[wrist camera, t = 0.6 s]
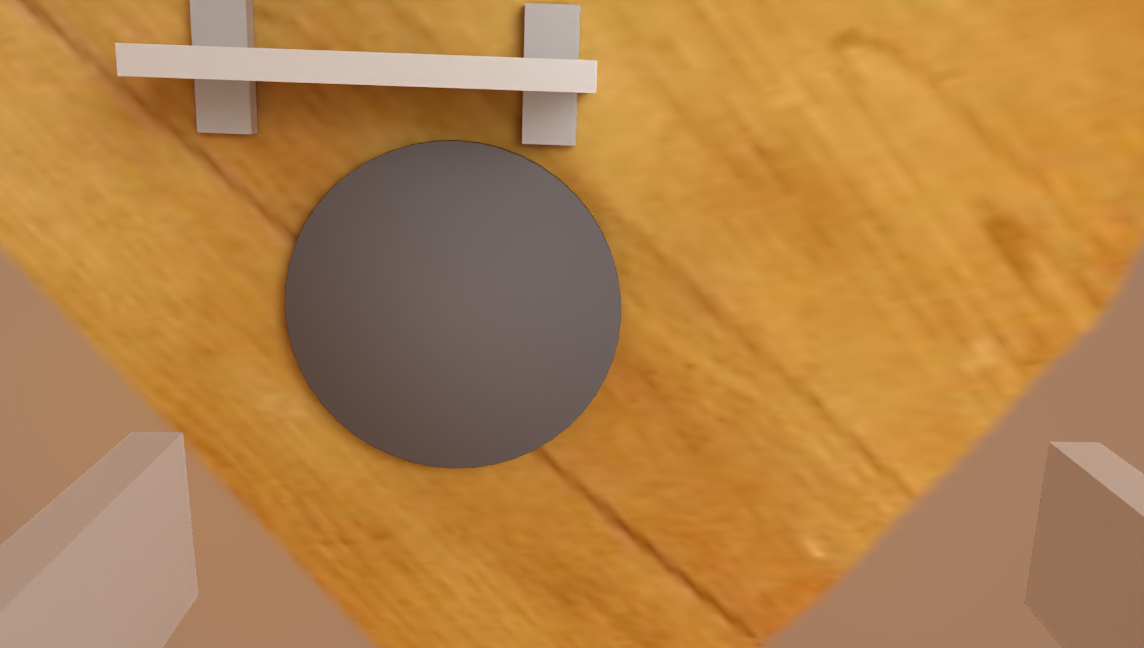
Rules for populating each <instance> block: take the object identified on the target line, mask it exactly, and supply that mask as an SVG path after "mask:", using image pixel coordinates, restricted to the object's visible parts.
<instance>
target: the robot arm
mask: <svg viewBox="0 0 1144 648" xmlns="http://www.w3.org/2000/svg"><path fill="white" fill-rule="evenodd" d="M197 597H198V587H197V575H196V565H195V554H194V544H193V533H192V522H191V512H190V502H189V492H188V480H187V469H186V459H185V448H184V438H183V432H131V433H130V434H128V435H127V436H126V437H125V438H124V439H123V440H121V441H120V442H119V443H118V444H117V445H116V446H115V447H113V448H112V449H111V450H110V451H109V452H108V453H107V454H106V455H104V456H103V457H102V458H101V459H100V460H99V461H97V462H96V463H95V464H94V465H93V466H91V467H90V468H89V469H88V470H87V471H86V472H85V473H83V474H82V475H81V476H80V477H79V478H78V479H76V480H75V481H74V482H73V483H72V484H71V485H70V486H68V487H67V488H66V489H65V490H64V491H63V492H62V493H60V494H59V495H58V496H57V497H56V498H55V499H53V500H52V501H51V502H50V503H49V504H48V505H46V506H45V507H44V508H43V509H42V510H41V511H39V512H38V513H37V514H36V515H35V516H34V517H33V518H32V519H30V520H29V521H28V522H27V523H26V524H25V525H23V526H22V527H21V528H20V529H19V530H18V531H16V533H14V534H13V535H12V536H11V537H9V538H8V539H7V540H6V541H5V542H4V543H3V544H1V545H0V648H163V647H164V645H165V644H166V642H167V641H168V640H169V638H170V636H171V635H172V634H173V632H174V631H175V629H176V628H177V626H178V625H179V623H180V622H181V620H182V619H183V617H184V616H185V614H186V613H187V612H188V610H189V609H190V607H191V605H192V604H193V603H194V601H195V600H196V598H197ZM1025 604H1026V605H1027V607H1028V608H1029V609H1030V610H1031V611H1032V613H1033V614H1034V615H1035V616H1036V617H1037V618H1038V620H1039V621H1040V622H1041V623H1042V624H1043V626H1044V627H1045V628H1046V629H1047V630H1048V631H1049V633H1050V634H1051V635H1052V636H1053V637H1054V638H1055V640H1056V641H1057V642H1058V643H1059V645H1060V646H1062V648H1144V474H1142V473H1141V472H1140V471H1138V470H1137V469H1135V468H1134V467H1133V466H1131V465H1130V464H1128V463H1127V462H1126V461H1124V460H1123V459H1122V458H1120V457H1119V456H1117V455H1116V454H1114V453H1113V452H1112V451H1110V450H1109V449H1107V448H1106V447H1105V446H1103V445H1102V444H1101V443H1098V442H1049V447H1048V453H1047V460H1046V466H1045V472H1044V479H1043V485H1042V492H1041V499H1040V505H1039V512H1038V518H1037V526H1036V531H1035V538H1034V545H1033V551H1032V557H1031V564H1030V570H1029V577H1028V583H1027V590H1026V596H1025Z"/></svg>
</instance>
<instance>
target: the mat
mask: <svg viewBox="0 0 1144 648" xmlns="http://www.w3.org/2000/svg"><path fill="white" fill-rule="evenodd" d="M285 311H286V321H287V329H288V333H289V337H290V341H291V345H292V349H293V352H294V354H295V357H296V360H297V362H298V365H299V367H300V370H301V371H302V373H303V375H304V377H305V379H306V381H307V382H308V384H309V386H310V388H311V389H312V391H313V392H314V393H315V395H316V396H317V398H318V399H319V400H320V402H321V403H322V404H323V406H324V407H325V408H326V409H327V410H328V411H329V412H330V413H331V414H332V415H333V416H334V417H335V419H336V420H337V421H339V422H340V423H341V424H342V425H343V426H345V427H346V428H347V429H348V430H349V431H351V432H352V433H353V434H354V435H356V436H357V437H359V438H360V439H362V440H363V441H365V442H367V443H368V444H370V445H371V446H373V447H375V448H377V449H379V450H381V451H383V452H385V453H388V454H390V455H392V456H395V457H398V458H401V459H404V460H407V461H409V462H413V463H418V464H423V465H427V466H433V467H444V468H474V467H481V466H487V465H494V464H497V463H501V462H504V461H508V460H511V459H515V458H517V457H519V456H522V455H524V454H526V453H529V452H531V451H533V450H535V449H537V448H539V447H540V446H542V445H544V444H545V443H547V442H549V441H551V440H552V439H553V438H555V437H556V436H557V435H559V434H560V433H561V432H562V431H564V430H565V429H566V428H568V427H569V426H570V425H571V424H572V423H573V422H574V421H575V420H576V419H577V418H578V417H579V416H580V415H581V414H582V413H583V411H584V410H585V409H586V407H587V406H588V405H589V403H590V402H591V401H592V399H593V398H594V397H595V395H596V394H597V392H598V390H599V388H600V387H601V385H602V383H603V381H604V380H605V378H606V375H607V373H608V370H609V368H610V365H611V363H612V360H613V358H614V354H615V350H616V346H617V342H618V338H619V330H620V321H621V295H620V289H619V282H618V276H617V272H616V268H615V265H614V261H613V258H612V255H611V251H610V248H609V246H608V244H607V242H606V239H605V237H604V235H603V233H602V231H601V229H600V227H599V226H598V224H597V222H596V221H595V219H594V217H593V216H592V214H591V213H590V211H589V210H588V209H587V207H586V206H585V205H584V204H583V203H582V201H581V200H580V199H579V198H578V196H577V195H576V194H575V193H574V192H573V191H572V190H571V189H570V188H569V187H567V186H566V185H565V184H564V183H563V182H562V181H561V180H560V179H559V178H557V177H556V176H555V175H553V174H552V173H550V172H549V171H548V170H546V169H545V168H543V167H542V166H540V165H538V164H537V163H535V162H533V161H531V160H529V159H527V158H525V157H524V156H522V155H519V154H516V153H514V152H511V151H509V150H506V149H503V148H500V147H496V146H492V145H488V144H484V143H479V142H470V141H460V140H447V141H431V142H425V143H419V144H413V145H409V146H406V147H403V148H400V149H396V150H393V151H390V152H388V153H386V154H384V155H381V156H379V157H377V158H375V159H373V160H371V161H369V162H367V163H365V164H363V165H362V166H360V167H359V168H357V169H356V170H354V171H353V172H351V173H350V174H348V175H347V176H346V177H345V178H343V179H342V180H341V181H340V182H339V183H338V184H336V185H335V186H334V187H333V188H332V189H331V190H330V191H329V192H328V193H327V194H326V196H325V197H324V198H323V199H322V200H321V201H320V202H319V204H318V205H317V206H316V208H315V209H314V211H313V212H312V214H311V215H310V217H309V218H308V220H307V221H306V223H305V225H304V227H303V229H302V231H301V233H300V235H299V237H298V239H297V241H296V244H295V247H294V250H293V253H292V256H291V260H290V263H289V268H288V274H287V280H286V290H285Z"/></svg>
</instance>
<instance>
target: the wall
mask: <svg viewBox="0 0 1144 648" xmlns="http://www.w3.org/2000/svg"><path fill="white" fill-rule="evenodd" d="M580 8H581V5H569V4H543V3H525V27H524V58H518V57H491V56H463V55H436V54H409V53H381V52H354V51H327V50H299V49H272V48H254V27H253V3H252V0H190V17H191V34H192V46H190V45H163V44H136V43H115V50H116V63H117V76H133V77H161V78H189V79H194V87H195V105H196V122H197V133H225V134H257V133H258V122H257V98H256V81H272V82H300V83H328V84H355V85H383V86H411V87H439V88H467V89H494V90H522V91H523V116H522V144H540V145H569V146H576V121H577V93H596V83H597V60H579V36H580Z"/></svg>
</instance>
